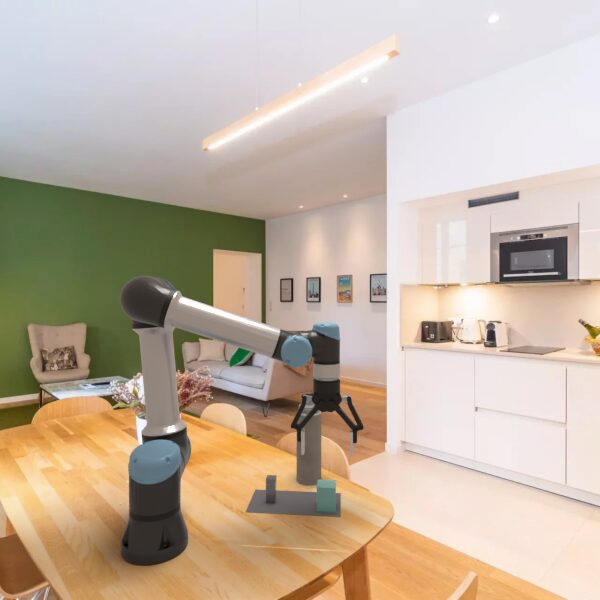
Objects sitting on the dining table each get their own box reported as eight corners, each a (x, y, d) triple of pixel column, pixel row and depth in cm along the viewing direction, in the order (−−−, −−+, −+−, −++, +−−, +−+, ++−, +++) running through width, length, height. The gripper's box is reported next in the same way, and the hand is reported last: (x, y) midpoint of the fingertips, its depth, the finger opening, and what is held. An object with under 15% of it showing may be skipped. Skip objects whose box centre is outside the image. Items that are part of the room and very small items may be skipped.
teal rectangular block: (335, 512, 118) (335, 488, 118) (316, 511, 118) (316, 487, 118) (335, 503, 123) (335, 480, 123) (317, 502, 123) (317, 479, 123)
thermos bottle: (307, 474, 144) (308, 390, 144) (326, 481, 139) (326, 394, 138) (291, 481, 138) (291, 394, 138) (309, 489, 133) (310, 398, 133)
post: (274, 503, 123) (274, 479, 123) (265, 503, 123) (265, 478, 123) (276, 499, 125) (276, 475, 125) (267, 498, 125) (267, 474, 125)
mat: (340, 518, 115) (340, 517, 115) (245, 513, 118) (245, 512, 118) (340, 494, 129) (340, 493, 129) (255, 490, 132) (255, 489, 132)
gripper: (370, 376, 123) (371, 450, 123) (284, 375, 125) (284, 447, 125) (372, 381, 115) (373, 460, 116) (280, 380, 118) (281, 457, 118)
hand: (327, 453), depth 120 cm, fingers open, 13 cm apart
